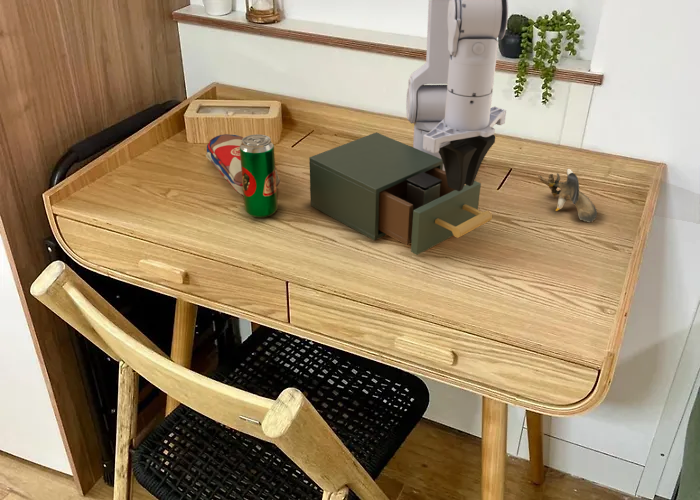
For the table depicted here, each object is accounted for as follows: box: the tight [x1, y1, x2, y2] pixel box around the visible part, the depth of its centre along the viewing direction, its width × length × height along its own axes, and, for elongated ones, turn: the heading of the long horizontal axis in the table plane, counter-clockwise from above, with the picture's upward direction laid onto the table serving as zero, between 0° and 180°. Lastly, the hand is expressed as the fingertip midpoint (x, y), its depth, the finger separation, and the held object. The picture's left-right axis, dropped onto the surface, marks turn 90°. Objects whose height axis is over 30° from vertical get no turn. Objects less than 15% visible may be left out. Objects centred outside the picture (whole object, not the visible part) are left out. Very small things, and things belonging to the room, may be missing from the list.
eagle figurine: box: [537, 168, 598, 223], centre depth 111 cm, size 8×7×9 cm
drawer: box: [378, 167, 493, 256], centre depth 103 cm, size 18×13×7 cm
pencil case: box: [205, 133, 281, 197], centre depth 120 cm, size 11×20×5 cm, turn 14°
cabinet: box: [308, 132, 443, 241], centre depth 110 cm, size 14×14×8 cm
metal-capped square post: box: [406, 172, 442, 222], centre depth 103 cm, size 4×4×6 cm
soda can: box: [240, 133, 278, 219], centre depth 108 cm, size 5×5×12 cm
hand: (460, 185), depth 97 cm, fingers closed
